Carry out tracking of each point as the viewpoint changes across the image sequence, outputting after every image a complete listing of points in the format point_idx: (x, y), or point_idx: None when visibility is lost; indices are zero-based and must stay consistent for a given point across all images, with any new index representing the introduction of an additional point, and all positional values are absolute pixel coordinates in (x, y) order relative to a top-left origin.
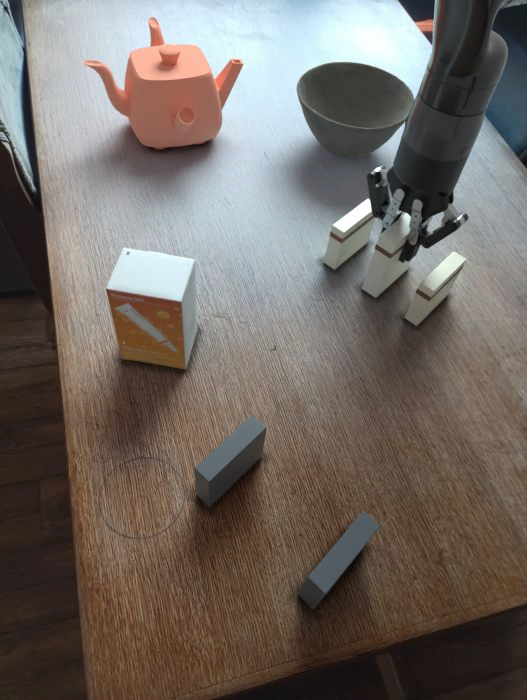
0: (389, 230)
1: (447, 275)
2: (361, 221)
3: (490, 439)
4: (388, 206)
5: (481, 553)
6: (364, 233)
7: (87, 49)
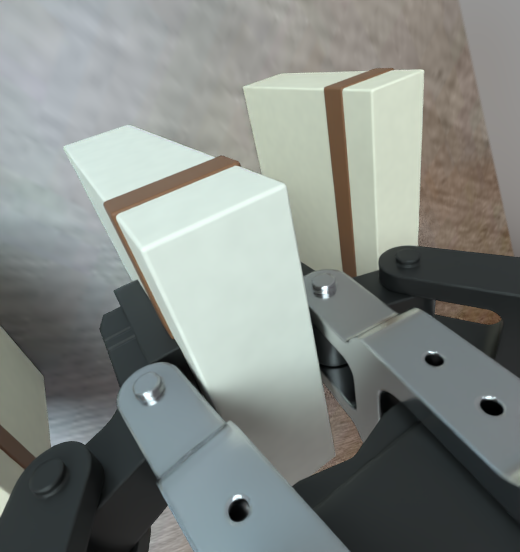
0: None
1: (414, 215)
2: None
3: (475, 239)
4: (110, 500)
5: (496, 317)
6: None
7: None
